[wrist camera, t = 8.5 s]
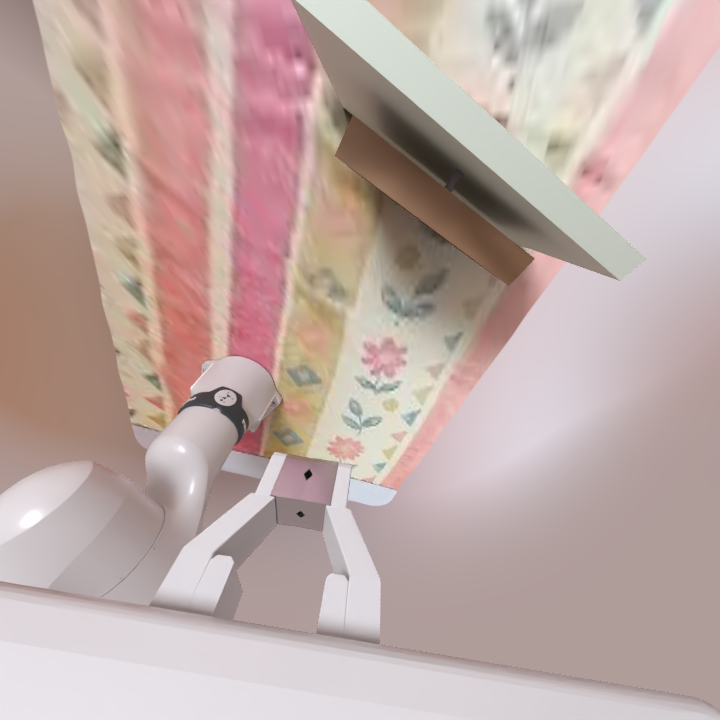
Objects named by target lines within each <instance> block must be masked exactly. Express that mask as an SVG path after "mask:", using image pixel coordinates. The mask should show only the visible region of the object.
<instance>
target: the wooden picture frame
mask: <svg viewBox="0 0 720 720" xmlns="http://www.w3.org/2000/svg"><path fill="white" fill-rule="evenodd" d="M335 156H336V157H337V158H338V159H340V160H341V161H342V162H343V163H345V164H346V165H347V166H348V167H350V168H351V169H352V170H353V171H355V172H356V173H357V174H359V175H360V176H361V177H363V178H364V179H365V180H367V181H368V182H369V183H371V184H372V185H373V186H375V187H376V188H377V189H379V190H380V191H381V192H383V193H384V194H385V195H387V196H388V197H389V198H391V199H392V200H393V201H395V202H396V203H397V204H399V205H400V206H401V207H403V208H404V209H405V210H407V211H408V212H409V213H411V214H412V215H413V216H415V217H416V218H417V219H419V220H420V221H421V222H423V223H424V224H425V225H427V226H428V227H429V228H431V229H432V230H433V231H435V232H436V233H437V234H439V235H440V236H442V237H443V238H444V239H446V240H447V241H448V242H450V243H451V244H452V245H454V246H455V247H456V248H458V249H459V250H460V251H462V252H463V253H464V254H466V255H467V256H468V257H470V258H471V259H472V260H474V261H475V262H476V263H478V264H479V265H481V266H482V267H483V268H485V269H486V270H488V271H489V272H490V273H492V274H493V275H495V276H496V277H497V278H499V279H500V280H502V281H503V282H504V283H506V284H507V285H510V284H511V283H512V282H513V281H514V280H515V279H516V278H517V277H518V276H519V275H520V273H521V272H522V271H523V270H524V269H525V268H526V267H527V266H528V265H529V264H530V263H531V262H532V261H533V260H534V258H533V257H532V256H530V255H529V254H528V253H527V252H525V251H524V250H523V249H522V248H520V247H519V246H518V245H517V244H515V243H514V242H513V241H512V240H510V239H509V238H508V237H507V236H505V235H504V234H503V233H501V232H500V231H499V230H498V229H496V228H495V227H494V226H493V225H491V224H490V223H489V222H488V221H486V220H485V219H484V218H483V217H481V216H480V215H479V214H477V213H476V212H475V211H474V210H472V209H471V208H470V207H469V206H467V205H466V204H465V203H464V202H462V201H461V200H460V199H459V198H457V197H456V196H455V195H454V194H452V193H451V192H450V191H448V190H447V189H446V188H445V187H443V186H442V185H441V184H440V183H438V182H437V181H436V180H435V179H433V178H432V177H431V176H430V175H428V174H427V173H426V172H424V171H423V170H422V169H421V168H419V167H418V166H417V165H416V164H414V163H413V162H412V161H411V160H409V159H408V158H407V157H406V156H404V155H403V154H402V153H401V152H399V151H398V150H397V149H395V148H394V147H393V146H392V145H390V144H389V143H388V142H387V141H385V140H384V139H383V138H382V137H380V136H379V135H378V134H377V133H375V132H374V131H373V130H371V129H370V128H369V127H368V126H366V125H365V124H364V123H363V122H361V121H360V120H359V119H358V118H356V117H355V116H354V115H352V117H351V120H350V122H349V124H348V127H347V129H346V131H345V134H344V136H343V138H342V140H341V143H340V145H339V147H338V150H337V152H336V154H335Z"/></svg>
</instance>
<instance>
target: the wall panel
mask: <svg viewBox="0 0 720 720" xmlns="http://www.w3.org/2000/svg"><path fill="white" fill-rule="evenodd" d="M291 1H292V3H293V5H294V7H295V9H296V11H297V13H298V15H299V17H300V19H301V21H302V24H303V26H304V28H305V30H306V32H307V34H308V36H309V38H310V40H311V42H312V44H313V46H314V48H315V50H316V52H317V55H318V57H319V59H320V61H321V63H322V65H323V67H324V69H325V71H326V73H327V75H328V77H329V79H330V81H331V84H332V86H333V88H334V90H335V92H336V94H337V96H338V98H339V100H340V102H341V104H342V106H343V108H344V109H346V110H347V111H348V112H349V113H351V114H352V115H354V116H355V117H356V118H358V119H359V120H360V121H361V122H363V123H364V124H365V125H366V126H368V127H369V128H370V129H371V130H373V131H374V132H375V133H377V134H378V135H379V136H380V137H382V138H383V139H384V140H385V141H387V142H388V143H389V144H390V145H392V146H393V147H394V148H395V149H397V150H398V151H399V152H401V153H402V154H403V155H404V156H406V157H407V158H408V159H409V160H411V161H412V162H413V163H414V164H416V165H417V166H418V167H419V168H421V169H422V170H423V171H424V172H426V173H427V174H428V175H430V176H431V177H432V178H433V179H435V180H436V181H437V182H438V183H440V184H441V185H442V186H443V187H445V188H446V189H447V190H448V191H450V192H451V193H452V194H454V195H455V196H456V197H457V198H459V199H460V200H461V201H462V202H464V203H465V204H466V205H467V206H469V207H470V208H471V209H472V210H474V211H475V212H476V213H477V214H479V215H480V216H481V217H483V218H484V219H485V220H486V221H488V222H489V223H490V224H491V225H493V226H494V227H495V228H496V229H498V230H499V231H500V232H501V233H503V234H504V235H505V236H507V237H508V238H509V239H510V240H512V241H513V242H514V243H515V244H518V245H521V246H524V247H526V248H529V249H532V250H535V251H538V252H540V253H543V254H546V255H549V256H552V257H555V258H557V259H560V260H563V261H566V262H569V263H571V264H574V265H577V266H580V267H583V268H585V269H588V270H591V271H594V272H597V273H600V274H602V275H605V276H608V277H611V278H614V279H617V280H619V281H620V280H622V279H623V278H624V277H625V276H626V275H627V274H629V273H630V272H631V271H632V270H634V269H635V268H636V267H637V266H638V265H639V264H641V263H642V262H643V261H644V260H646V259H645V258H644V257H643V256H642V255H641V254H640V253H639V252H638V251H637V250H635V248H633V247H632V246H631V245H630V244H629V243H628V242H627V241H626V240H625V239H624V238H623V237H622V236H620V235H619V234H618V233H617V232H616V231H615V230H614V229H613V228H612V227H611V226H610V225H608V224H607V223H606V222H605V221H604V220H603V219H602V218H601V217H600V216H599V215H598V214H597V213H596V212H595V211H593V210H592V209H591V208H590V207H589V206H588V205H587V204H586V203H585V202H584V201H583V200H582V199H581V198H579V197H578V196H577V195H576V194H575V193H574V192H573V191H572V190H571V189H570V188H569V187H568V186H566V185H565V184H564V183H563V182H562V181H561V180H560V179H559V178H558V177H557V176H556V175H555V174H553V173H552V172H551V171H550V170H549V169H548V168H547V167H546V166H545V165H544V164H543V163H542V162H541V161H539V160H538V159H537V158H536V157H535V156H534V155H533V154H532V153H531V152H530V151H529V150H528V149H526V148H525V147H524V146H523V145H522V144H521V143H520V142H519V141H518V140H517V139H516V138H515V137H513V136H512V135H511V134H510V133H509V132H508V131H507V130H506V129H505V128H504V127H503V126H502V125H501V124H499V123H498V122H497V121H496V120H495V119H494V118H493V117H492V116H491V115H490V114H489V113H488V112H486V111H485V110H484V109H483V108H482V107H481V106H480V105H479V104H478V103H477V102H476V101H475V100H473V99H472V98H471V97H470V96H469V95H468V94H467V93H466V92H465V91H464V90H463V89H462V88H461V87H459V86H458V85H457V84H456V83H455V82H454V81H453V80H452V79H451V78H450V77H449V76H448V75H446V74H445V73H444V72H443V71H442V70H441V69H440V68H439V67H438V66H437V65H436V64H435V63H433V62H432V61H431V60H430V59H429V58H428V57H427V56H426V55H425V54H424V53H423V52H422V51H421V50H419V49H418V48H417V47H416V46H415V45H414V44H413V43H412V42H411V41H410V40H409V39H408V38H406V37H405V36H404V35H403V34H402V33H401V32H400V31H399V30H398V29H397V28H396V27H395V26H393V25H392V24H391V23H390V22H389V21H388V20H387V19H386V18H385V17H384V16H383V15H382V14H381V13H379V12H378V11H377V10H376V9H375V8H374V7H373V6H372V5H371V4H370V3H369V2H368V1H366V0H291Z"/></svg>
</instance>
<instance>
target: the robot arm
mask: <svg viewBox="0 0 720 720" xmlns="http://www.w3.org/2000/svg"><path fill="white" fill-rule="evenodd" d="M190 389H191V398H190V399H189V400H187V401H186V402H185V403H184V404H183V406H182V408H181V409H180V410H179V412H178V415H177V416H176V417H175V419H174V420H173V421H172V422H171V423H170V424H169V425H168V426H167V427H166V428H165V429H164V430H163V431H162V432H161V433H160V434H159V435H158V436H157V437H156V438H155V439H154V440H153V441H152V443H151V444H150V446H149V448H148V450H147V453H146V457H145V466H146V473H147V485H146V490H145V492H143V491H142V490H141V489H140V488H139V487H138V486H136V485H135V484H134V483H133V482H132V481H131V480H129V479H128V478H127V477H125V476H123V475H121V474H119V473H117V472H115V471H113V470H111V469H109V468H107V467H104V466H102V465H100V464H97V463H95V462H93V461H91V460H76V461H70V462H65V463H61V464H57V465H54V466H51V467H48V468H45V469H42V470H40V471H38V472H36V473H34V474H32V475H30V476H28V477H26V478H24V479H22V480H21V481H19V482H18V483H16V484H14V485H13V486H12V487H10V488H9V489H7V490H6V491H5V492H4V493H3V494H1V495H0V720H720V710H718V709H717V708H716V707H714V706H713V705H711V704H710V703H708V702H706V701H704V700H701V699H698V698H695V697H690V696H685V695H680V694H674V693H668V692H662V691H656V690H650V689H644V688H637V687H632V686H626V685H620V684H614V683H608V682H602V681H596V680H590V679H584V678H578V677H572V676H566V675H560V674H554V673H548V672H542V671H535V670H530V669H524V668H518V667H512V666H505V665H499V664H493V663H488V662H482V661H476V660H470V659H464V658H458V657H452V656H446V655H440V654H434V653H428V652H422V651H416V650H410V649H404V648H398V647H392V646H386V645H380V586H381V585H380V584H381V580H380V578H379V576H378V573H377V571H376V569H375V566H374V564H373V562H372V559H371V557H370V554H369V552H368V550H367V548H366V545H365V543H364V540H363V538H362V535H361V533H360V531H359V528H358V526H357V524H356V522H355V519H354V517H353V514H352V512H351V510H350V509H347V508H346V507H347V500H348V493H349V485H350V477H351V470H352V464H346V463H339V462H335V461H328V460H322V459H315V458H307V457H301V456H296V455H290V454H285V453H279V452H274V454H273V455H272V457H271V459H270V461H269V463H268V466H267V468H266V470H265V472H264V474H263V477H262V479H261V481H260V483H259V486H258V488H257V490H256V492H255V493H250V494H249V495H248V496H246V497H245V498H244V499H243V500H241V501H240V502H239V503H238V504H236V505H235V506H234V507H233V508H231V509H230V510H229V511H228V512H226V513H225V514H224V515H223V516H221V517H220V518H219V519H218V520H217V521H215V522H214V523H213V524H212V525H210V526H209V527H208V528H207V529H205V530H204V531H203V529H204V522H205V515H206V511H207V506H208V502H209V498H210V494H211V491H212V487H213V485H214V482H215V479H216V477H217V475H218V473H219V471H220V470H221V468H222V466H223V464H224V462H225V461H226V459H227V457H228V455H229V454H230V452H231V450H232V449H233V447H234V446H235V445H236V444H238V442H239V441H240V440H241V439H242V438H243V436H244V435H245V433H246V431H248V430H249V431H251V432H255V431H256V430H257V428H258V427H259V425H260V423H261V421H262V420H263V419H264V418H265V417H266V416H268V415H269V414H270V413H271V412H272V411H273V410H274V409H275V408H276V407H277V406H278V405H279V404H280V403H281V401H282V397H281V396H280V394H279V393H278V392H277V391H276V388H275V385H274V382H273V379H272V377H271V376H270V374H269V373H268V372H267V371H266V370H265V369H264V368H263V367H262V366H261V365H259V364H258V363H256V362H254V361H252V360H250V359H247V358H244V357H238V356H230V357H225V358H223V359H220V360H217V361H211V360H210V361H205V362H204V363H203V364H202V375H201V376H200V377H199V379H198V380H197V381H196V382H195V383H194V384H193V385H192V387H191V388H190ZM338 463H339V464H338ZM277 524H281V525H288V526H296V527H302V528H308V529H313V530H318V531H322V532H323V536H324V539H325V543H326V546H327V550H328V554H329V557H330V561H331V564H332V568H333V571H334V574H330V575H329V576H328V577H327V578H326V582H325V587H324V593H323V598H322V604H321V610H320V616H319V622H318V627H317V633H316V634H314V633H308V632H302V631H296V630H290V629H284V628H278V627H272V626H266V625H260V624H254V623H248V622H242V621H236V620H233V618H234V615H235V612H236V609H237V607H238V604H239V601H240V598H241V596H242V593H243V591H242V588H241V584H240V581H239V578H238V574H237V571H236V570H237V569H238V568H239V567H240V566H241V565H242V564H243V562H244V561H245V560H246V559H247V558H248V557H249V556H250V555H251V554H252V552H253V551H254V550H255V549H256V548H257V547H258V546H259V545H260V544H261V543H262V542H263V540H264V539H265V538H266V537H267V536H268V535H269V534H270V533H271V532H272V530H273V529H274V528H275V527H276V526H277Z"/></svg>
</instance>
